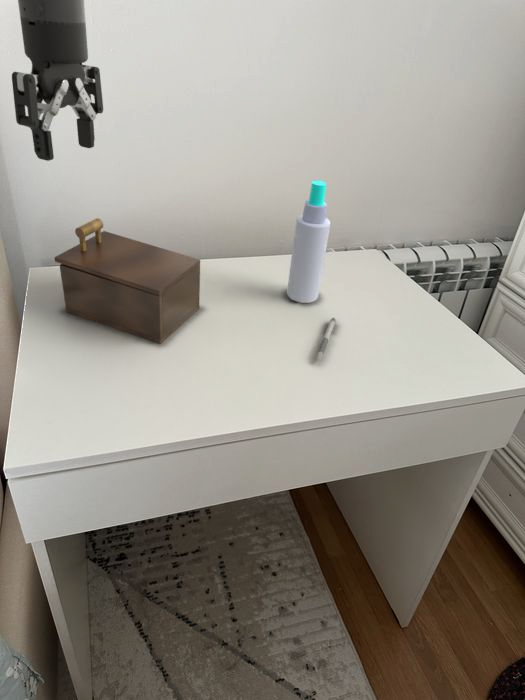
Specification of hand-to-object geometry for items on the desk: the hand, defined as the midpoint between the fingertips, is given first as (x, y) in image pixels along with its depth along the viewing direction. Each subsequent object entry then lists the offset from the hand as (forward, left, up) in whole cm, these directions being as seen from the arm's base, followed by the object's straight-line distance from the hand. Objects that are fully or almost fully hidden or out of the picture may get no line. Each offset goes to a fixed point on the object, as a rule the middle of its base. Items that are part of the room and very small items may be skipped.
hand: (66, 152), depth 74 cm
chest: (+8, 0, -27) cm, 29 cm away
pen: (+34, -22, -28) cm, 49 cm away
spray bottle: (+39, -7, -28) cm, 48 cm away
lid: (+8, 0, -18) cm, 20 cm away
